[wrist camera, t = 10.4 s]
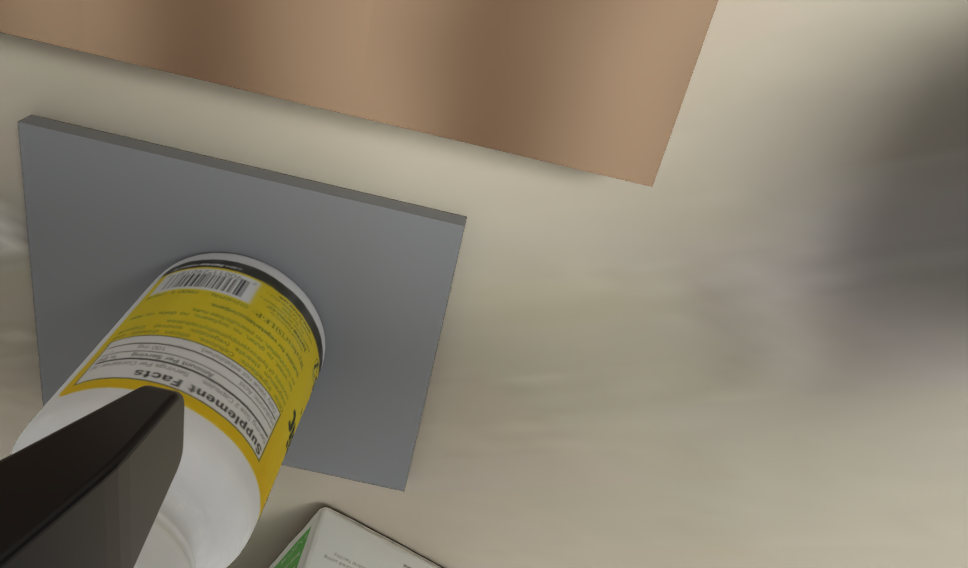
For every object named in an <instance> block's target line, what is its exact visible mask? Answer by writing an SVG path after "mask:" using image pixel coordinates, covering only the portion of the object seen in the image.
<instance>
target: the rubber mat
mask: <svg viewBox="0 0 968 568" xmlns="http://www.w3.org/2000/svg"><path fill="white" fill-rule="evenodd" d="M18 130H19V141H20V152H21V163H22V174H23V186H24V197H25V208H26V219H27V230H28V242H29V253H30V264H31V275H32V286H33V297H34V309H35V320H36V331H37V342H38V353H39V364H40V376H41V387H42V398H43V407H44V405H45V404H46V403H47V402H48V401H49V400H50V399H51V398H52V396H53V395H54V394H55V393H56V392H57V391H58V390H59V389H60V387H61V386H62V385H63V384H64V383H65V382H66V381H67V380H68V378H69V377H70V376H71V375H72V374H73V373H74V372H75V370H76V369H77V368H78V367H79V366H80V365H81V364H82V362H83V361H84V360H85V359H86V358H87V357H88V356H89V354H90V353H91V352H92V351H93V350H94V349H95V348H96V346H97V345H98V344H99V343H100V342H101V341H102V340H103V338H104V337H105V336H106V335H107V334H108V333H109V332H110V331H111V329H112V328H113V327H114V326H115V325H116V324H117V323H118V321H119V320H120V319H121V318H122V317H123V316H124V314H125V313H126V312H127V311H128V310H129V309H130V308H131V306H132V305H133V304H134V303H135V302H136V301H137V300H138V298H139V297H140V296H141V295H142V294H143V293H144V292H145V291H146V289H147V288H148V287H149V286H150V285H151V284H152V283H153V282H154V280H155V279H156V278H157V277H158V276H159V275H160V274H162V273H163V272H164V271H165V270H166V269H168V268H169V267H171V266H172V265H174V264H176V263H177V262H179V261H182V260H184V259H186V258H189V257H193V256H196V255H200V254H207V253H229V254H237V255H242V256H246V257H249V258H253V259H256V260H258V261H261V262H263V263H266V264H268V265H270V266H272V267H273V268H275V269H277V270H278V271H280V272H281V273H283V274H284V275H285V276H287V277H288V278H289V279H290V280H292V281H293V282H294V283H295V284H296V285H297V286H298V287H299V288H300V289H301V290H302V291H303V292H304V293H305V294H306V296H307V297H308V298H309V300H310V301H311V303H312V304H313V306H314V307H315V309H316V311H317V313H318V315H319V318H320V320H321V323H322V326H323V330H324V335H325V355H324V360H323V365H322V368H321V371H320V373H319V376H318V379H317V382H316V384H315V387H314V389H313V391H312V394H311V396H310V398H309V401H308V403H307V405H306V407H305V410H304V412H303V414H302V417H301V419H300V422H299V424H298V426H297V428H296V431H295V433H294V436H293V438H292V441H291V443H290V446H289V448H288V451H287V453H286V455H285V457H284V460H283V462H282V465H286V466H291V467H295V468H300V469H304V470H309V471H313V472H318V473H323V474H327V475H332V476H336V477H341V478H345V479H350V480H354V481H359V482H363V483H368V484H372V485H377V486H381V487H386V488H390V489H395V490H399V491H404V490H405V486H406V482H407V477H408V473H409V469H410V464H411V460H412V455H413V451H414V447H415V442H416V438H417V433H418V429H419V425H420V420H421V416H422V411H423V407H424V403H425V398H426V394H427V389H428V385H429V381H430V376H431V372H432V368H433V363H434V359H435V354H436V350H437V346H438V341H439V337H440V332H441V328H442V324H443V319H444V315H445V310H446V306H447V302H448V297H449V293H450V288H451V284H452V280H453V275H454V271H455V266H456V262H457V258H458V253H459V249H460V245H461V240H462V236H463V231H464V227H465V223H466V218H467V217H465V216H461V215H457V214H452V213H448V212H444V211H439V210H435V209H431V208H427V207H422V206H418V205H414V204H410V203H405V202H401V201H397V200H392V199H388V198H384V197H380V196H375V195H371V194H367V193H363V192H358V191H354V190H350V189H346V188H341V187H337V186H333V185H328V184H324V183H320V182H316V181H311V180H307V179H303V178H299V177H294V176H290V175H286V174H281V173H277V172H273V171H269V170H264V169H260V168H256V167H252V166H247V165H243V164H239V163H234V162H230V161H226V160H222V159H217V158H213V157H209V156H205V155H200V154H196V153H192V152H188V151H183V150H179V149H175V148H170V147H166V146H162V145H158V144H153V143H149V142H145V141H141V140H136V139H132V138H128V137H123V136H119V135H115V134H111V133H106V132H102V131H98V130H94V129H89V128H85V127H81V126H77V125H72V124H68V123H64V122H59V121H55V120H51V119H47V118H42V117H38V116H34V115H30V116H28V117H26V118H24V119H22V120H20V121H19V122H18Z"/></svg>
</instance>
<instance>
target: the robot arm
mask: <svg viewBox="0 0 968 568" xmlns="http://www.w3.org/2000/svg"><path fill="white" fill-rule="evenodd" d="M183 440H184V399H183V396H182V395H181V394H180V393H179V392H177V391H174V390H169V389H165V388H160V387H156V386H151V385H146V386H142V387H139V388H137V389H135V390H133V391H131V392H130V393H128V394H126V395H124V396H122V397H120V398H118V399H116V400H114V401H112V402H110V403H109V404H107V405H105V406H103V407H101V408H99V409H97V410H95V411H93V412H91V413H90V414H88V415H86V416H84V417H82V418H80V419H78V420H76V421H74V422H72V423H71V424H69V425H67V426H65V427H63V428H61V429H59V430H57V431H55V432H53V433H51V434H50V435H48V436H46V437H44V438H42V439H40V440H38V441H36V442H34V443H32V444H31V445H29V446H27V447H25V448H23V449H21V450H19V451H17V452H15V453H13V454H11V455H10V456H8V457H6V458H4V459H2V460H0V568H134V566H135V564H136V561H137V559H138V557H139V555H140V552H141V550H142V548H143V546H144V543H145V541H146V539H147V537H148V535H149V532H150V530H151V528H152V526H153V523H154V521H155V519H156V517H157V514H158V512H159V510H160V508H161V505H162V503H163V501H164V499H165V497H166V494H167V492H168V490H169V488H170V485H171V483H172V481H173V479H174V476H175V474H176V472H177V470H178V467H179V464H180V461H181V457H182V453H183Z"/></svg>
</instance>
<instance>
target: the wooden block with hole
mask: <svg viewBox="0 0 968 568" xmlns="http://www.w3.org/2000/svg"><path fill="white" fill-rule="evenodd" d="M717 2H718V0H0V32H2V33H7V34H11V35H15V36H19V37H24V38H28V39H32V40H36V41H40V42H45V43H49V44H53V45H57V46H61V47H66V48H70V49H74V50H78V51H82V52H87V53H91V54H95V55H99V56H104V57H108V58H112V59H116V60H120V61H125V62H129V63H133V64H137V65H141V66H146V67H150V68H154V69H158V70H162V71H167V72H171V73H175V74H179V75H184V76H188V77H192V78H196V79H200V80H205V81H209V82H213V83H217V84H221V85H226V86H230V87H234V88H238V89H242V90H247V91H251V92H255V93H259V94H264V95H268V96H272V97H276V98H280V99H285V100H289V101H293V102H297V103H301V104H306V105H310V106H314V107H318V108H322V109H327V110H331V111H335V112H339V113H343V114H348V115H352V116H356V117H360V118H365V119H369V120H373V121H377V122H381V123H386V124H390V125H394V126H398V127H402V128H407V129H411V130H415V131H419V132H423V133H428V134H432V135H436V136H440V137H445V138H449V139H453V140H457V141H461V142H466V143H470V144H474V145H478V146H482V147H487V148H491V149H495V150H499V151H503V152H508V153H512V154H516V155H520V156H525V157H529V158H533V159H537V160H541V161H546V162H550V163H554V164H558V165H562V166H567V167H571V168H575V169H579V170H583V171H588V172H592V173H596V174H600V175H605V176H609V177H613V178H617V179H621V180H626V181H630V182H634V183H638V184H642V185H647V186H651V187H652V186H653V183H654V181H655V178H656V175H657V172H658V169H659V167H660V164H661V161H662V158H663V155H664V152H665V150H666V147H667V144H668V141H669V138H670V135H671V133H672V130H673V127H674V124H675V121H676V118H677V116H678V113H679V110H680V107H681V104H682V101H683V99H684V96H685V93H686V90H687V87H688V85H689V82H690V79H691V76H692V73H693V70H694V68H695V65H696V62H697V59H698V56H699V53H700V51H701V48H702V45H703V42H704V39H705V36H706V34H707V31H708V28H709V25H710V22H711V19H712V17H713V14H714V11H715V8H716V5H717Z"/></svg>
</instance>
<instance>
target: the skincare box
mask: <svg viewBox="0 0 968 568" xmlns="http://www.w3.org/2000/svg"><path fill="white" fill-rule="evenodd" d="M269 568H441V567H440V566H438V565H436V564H434V563H432V562H430V561H429V560H427V559H425V558H423V557H421V556H419V555H418V554H416V553H414V552H412V551H410V550H409V549H407V548H405V547H403V546H401V545H400V544H398V543H396V542H394V541H392V540H390V539H388V538H386V537H384V536H382V535H380V534H379V533H377V532H375V531H373V530H371V529H369V528H367V527H365V526H363V525H361V524H360V523H358V522H356V521H354V520H352V519H350V518H348V517H346V516H344V515H342V514H340V513H338V512H336V511H334V510H332V509H330V508H327V507H324V508H321V509H320V510H319V511H318V512H317V513H316V514H315V515H314V516H313V518H312V519H311V520H310V521H309V522H308V524H307V525H306V526H305V527H304V529H303V530H302V531H301V532H300V533H299V534H298V535H297V536H296V537H295V538H294V539H293V540H292V541H291V542H290V543H289V544H288V546H287V547H286V548H285V549H284V550H283V552H282V553H281V554H280V555H279V556H278V558H277V559H276V560H275V561H274V562H273V563H272V565H271V566H270V567H269Z"/></svg>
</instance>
